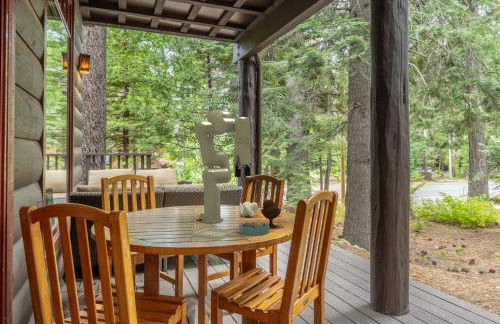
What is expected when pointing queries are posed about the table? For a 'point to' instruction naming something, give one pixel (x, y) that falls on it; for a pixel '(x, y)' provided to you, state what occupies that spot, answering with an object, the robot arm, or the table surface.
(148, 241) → the table surface
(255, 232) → the bowl
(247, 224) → the stone
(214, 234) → the parts tray
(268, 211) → the ice cream bowl
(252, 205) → the white lumpy chunk
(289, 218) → the table surface
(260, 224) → the stone
